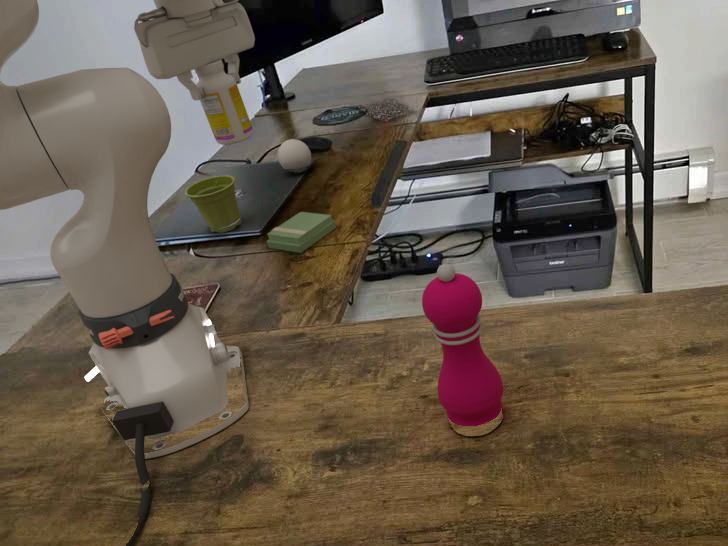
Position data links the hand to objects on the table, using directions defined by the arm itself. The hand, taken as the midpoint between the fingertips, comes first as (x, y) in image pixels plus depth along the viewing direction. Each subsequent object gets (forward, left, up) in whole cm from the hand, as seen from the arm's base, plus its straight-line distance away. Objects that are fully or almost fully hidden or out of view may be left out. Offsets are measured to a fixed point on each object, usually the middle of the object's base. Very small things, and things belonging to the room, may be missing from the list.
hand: (218, 91), depth 114 cm
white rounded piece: (+27, -15, -26) cm, 40 cm away
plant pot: (+9, +6, -26) cm, 28 cm away
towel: (-9, -4, -26) cm, 28 cm away
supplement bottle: (0, 0, -8) cm, 8 cm away
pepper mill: (-73, -3, -26) cm, 78 cm away
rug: (+49, -48, -26) cm, 73 cm away
